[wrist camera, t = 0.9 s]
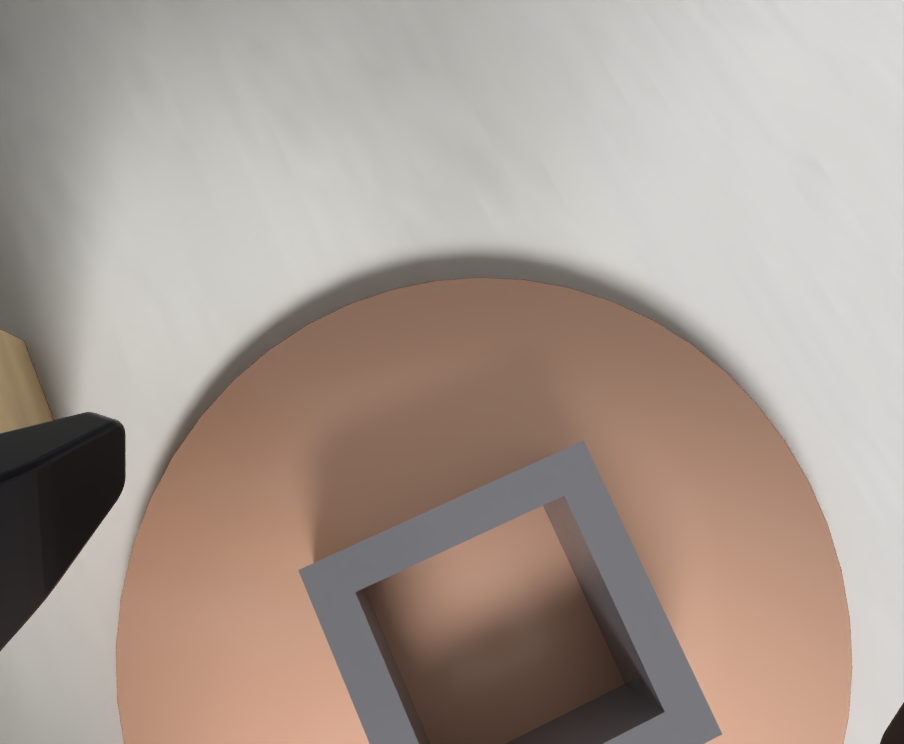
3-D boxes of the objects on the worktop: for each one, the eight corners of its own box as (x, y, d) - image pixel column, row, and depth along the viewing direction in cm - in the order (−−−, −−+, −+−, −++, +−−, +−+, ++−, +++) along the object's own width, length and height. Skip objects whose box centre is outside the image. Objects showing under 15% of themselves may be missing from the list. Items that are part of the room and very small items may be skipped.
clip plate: (295, 1176, 21) (267, 1349, 17) (24, 448, 24) (-61, 431, 20) (958, 809, 24) (1086, 874, 19) (644, 190, 26) (693, 123, 22)
